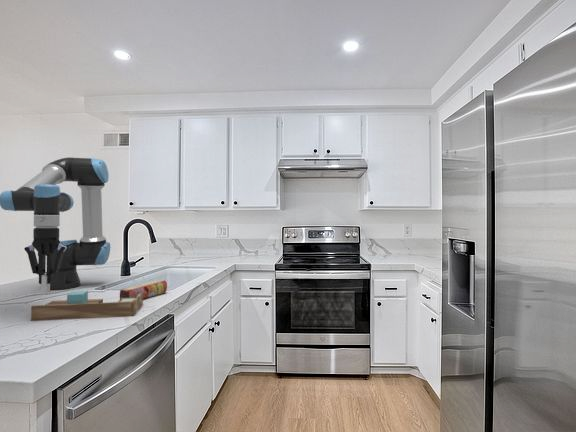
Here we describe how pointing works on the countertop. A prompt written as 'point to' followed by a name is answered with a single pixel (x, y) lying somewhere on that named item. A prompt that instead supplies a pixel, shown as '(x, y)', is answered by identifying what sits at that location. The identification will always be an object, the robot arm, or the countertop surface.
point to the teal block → (77, 297)
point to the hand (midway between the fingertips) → (45, 292)
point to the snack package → (145, 289)
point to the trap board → (86, 309)
